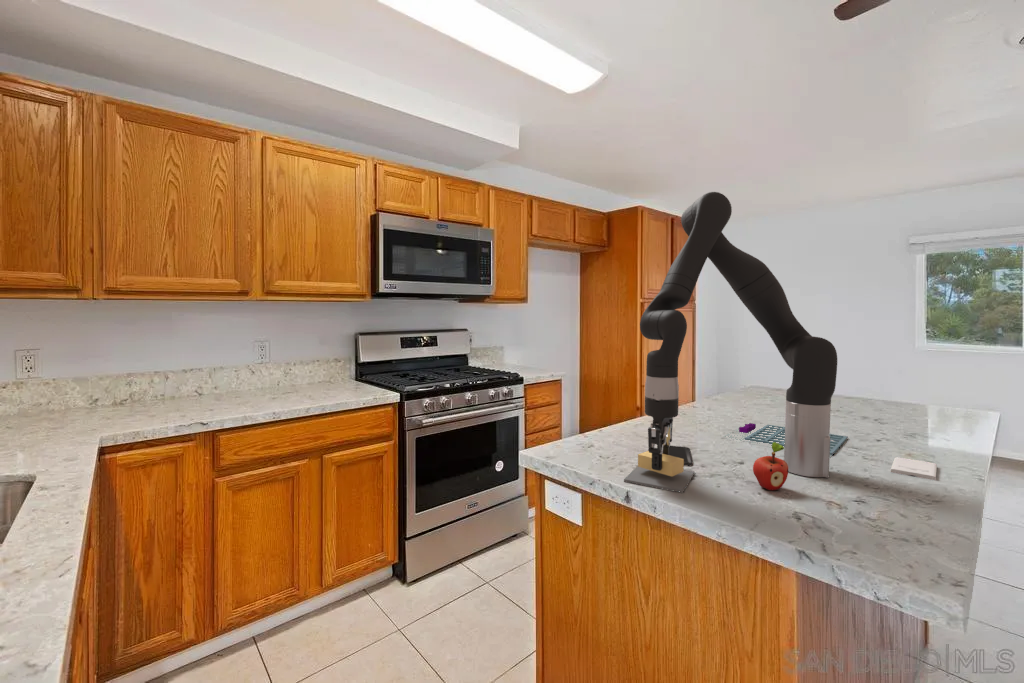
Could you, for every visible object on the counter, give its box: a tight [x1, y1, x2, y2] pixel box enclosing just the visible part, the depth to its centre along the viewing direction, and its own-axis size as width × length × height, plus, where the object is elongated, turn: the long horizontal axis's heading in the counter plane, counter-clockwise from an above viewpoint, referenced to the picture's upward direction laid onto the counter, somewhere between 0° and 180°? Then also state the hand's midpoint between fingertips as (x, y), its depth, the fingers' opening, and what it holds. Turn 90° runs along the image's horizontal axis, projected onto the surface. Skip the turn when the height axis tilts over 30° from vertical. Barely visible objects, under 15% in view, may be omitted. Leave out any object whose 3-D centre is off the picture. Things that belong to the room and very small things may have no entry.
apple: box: [752, 442, 789, 491], centre depth 103 cm, size 8×7×10 cm
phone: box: [669, 445, 693, 466], centre depth 126 cm, size 8×1×15 cm
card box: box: [637, 450, 685, 476], centre depth 109 cm, size 5×9×3 cm, turn 40°
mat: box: [623, 465, 696, 493], centre depth 109 cm, size 13×14×1 cm
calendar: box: [723, 422, 848, 459], centre depth 144 cm, size 27×29×2 cm
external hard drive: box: [890, 456, 938, 481], centre depth 115 cm, size 2×8×12 cm
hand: (660, 465), depth 109 cm, fingers closed on card box, 6 cm apart
